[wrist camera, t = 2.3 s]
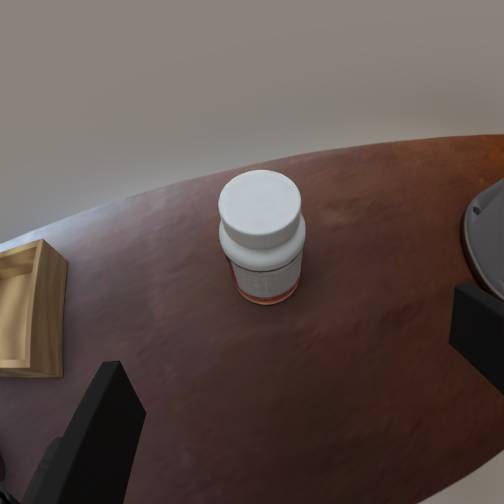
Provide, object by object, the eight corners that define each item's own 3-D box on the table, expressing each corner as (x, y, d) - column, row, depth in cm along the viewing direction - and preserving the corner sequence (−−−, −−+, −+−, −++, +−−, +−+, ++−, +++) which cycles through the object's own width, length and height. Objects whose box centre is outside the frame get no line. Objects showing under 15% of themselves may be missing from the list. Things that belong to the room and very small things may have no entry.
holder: (68, 261, 31) (43, 238, 27) (63, 377, 25) (29, 367, 20) (-1, 279, 31) (-25, 261, 27) (-10, 376, 25) (-40, 365, 20)
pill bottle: (242, 242, 31) (224, 159, 21) (304, 251, 29) (314, 168, 20) (226, 300, 28) (196, 233, 18) (294, 312, 27) (301, 249, 17)
